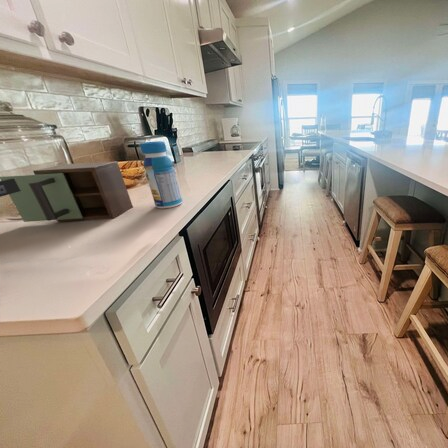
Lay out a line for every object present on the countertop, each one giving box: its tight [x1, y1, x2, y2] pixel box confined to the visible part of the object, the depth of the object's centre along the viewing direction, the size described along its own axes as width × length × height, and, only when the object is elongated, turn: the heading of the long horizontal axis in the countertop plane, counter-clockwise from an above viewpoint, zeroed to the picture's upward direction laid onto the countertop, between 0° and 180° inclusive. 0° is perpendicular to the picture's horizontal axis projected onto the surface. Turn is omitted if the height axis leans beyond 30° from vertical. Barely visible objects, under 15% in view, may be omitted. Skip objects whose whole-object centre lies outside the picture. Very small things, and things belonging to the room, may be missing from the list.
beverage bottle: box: [139, 140, 183, 209], centre depth 76 cm, size 8×8×20 cm
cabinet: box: [32, 161, 134, 223], centre depth 72 cm, size 16×10×15 cm, turn 93°
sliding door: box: [0, 173, 83, 223], centre depth 64 cm, size 16×7×13 cm, turn 93°
